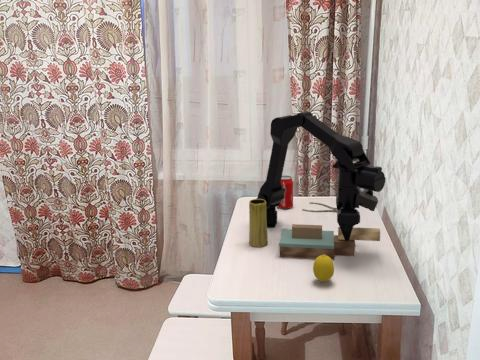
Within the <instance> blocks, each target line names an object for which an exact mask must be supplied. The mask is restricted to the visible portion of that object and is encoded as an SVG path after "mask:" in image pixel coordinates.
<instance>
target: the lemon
mask: <svg viewBox="0 0 480 360" xmlns="http://www.w3.org/2000/svg"><path fill="white" fill-rule="evenodd" d="M312 270H313V271H312V272H313V274H314V277H315V278H316V279H317V280H318V281H321V282H322V283H325V282H327V281H329V280H331V279H332V277H333V276H334V273H335V265H334V261H333V260H332V259H331V258H330V257H329V256H327V255H325V254H323V255H320V256H318V257H317V258H316V259H314V261H313V266H312Z"/></svg>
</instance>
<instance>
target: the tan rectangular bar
mask: <svg viewBox="0 0 480 360" xmlns="http://www.w3.org/2000/svg"><path fill="white" fill-rule="evenodd" d="M337 235H338V239H341V240H345V239H344V236H343V234H342V231H341V229H340V227H339V226H338V228H337ZM349 240H355V241H368V242H369V241H370V242H380V241H381V229H380V228H379V227H378V228H374V227H373V228H372V227H355V226H353V229H352V232H351V235H350V239H349Z"/></svg>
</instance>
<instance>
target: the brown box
mask: <svg viewBox="0 0 480 360" xmlns="http://www.w3.org/2000/svg"><path fill="white" fill-rule="evenodd" d="M355 247H356V240H349V241H345V240H341V239H338V234H334V249H325V248H303V247H281V246H279V245H278V248H279V249H278V250H279V251H278V252H279V258H286V259H287V258H290V259H292V258H293V259H308V260H309V259H311V260H315V259H316V258H317V257H318V256H320V255H323V254H325V255H327V256H329V257H330V258H331V259H332V261H333V260H335V256H339V257H355V255H356V253H355V249H356V248H355Z"/></svg>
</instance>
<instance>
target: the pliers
mask: <svg viewBox="0 0 480 360" xmlns="http://www.w3.org/2000/svg"><path fill="white" fill-rule="evenodd" d="M309 204H310V205H311V204H312V205H318V206H323V207H326V208H328V209H324V210H323V209H322V210H312V209H311V210H310V209H305V208H302V209H301V210H302V211H304V212H311V213H337V211H338V210H337V207H333V206H329V205H327V204H325V203H320V202H313V201H312V202H311V201H310V202H309Z"/></svg>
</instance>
